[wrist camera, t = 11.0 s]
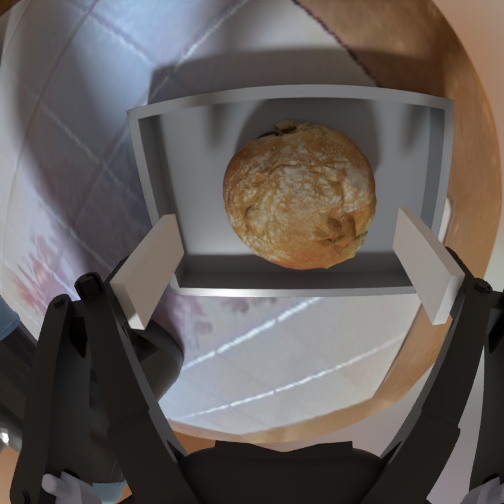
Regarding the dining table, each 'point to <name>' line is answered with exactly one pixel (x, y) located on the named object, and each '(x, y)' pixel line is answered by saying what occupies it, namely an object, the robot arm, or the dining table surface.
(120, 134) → the dining table surface
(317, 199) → the bread roll
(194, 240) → the tray
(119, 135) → the dining table surface
